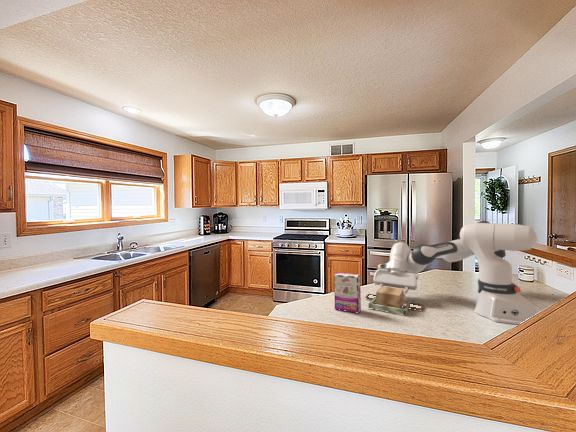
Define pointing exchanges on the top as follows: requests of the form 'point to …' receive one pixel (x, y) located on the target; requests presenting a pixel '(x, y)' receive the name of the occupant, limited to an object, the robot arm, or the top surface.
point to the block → (390, 297)
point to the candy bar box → (347, 292)
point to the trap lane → (392, 309)
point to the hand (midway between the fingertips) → (392, 294)
